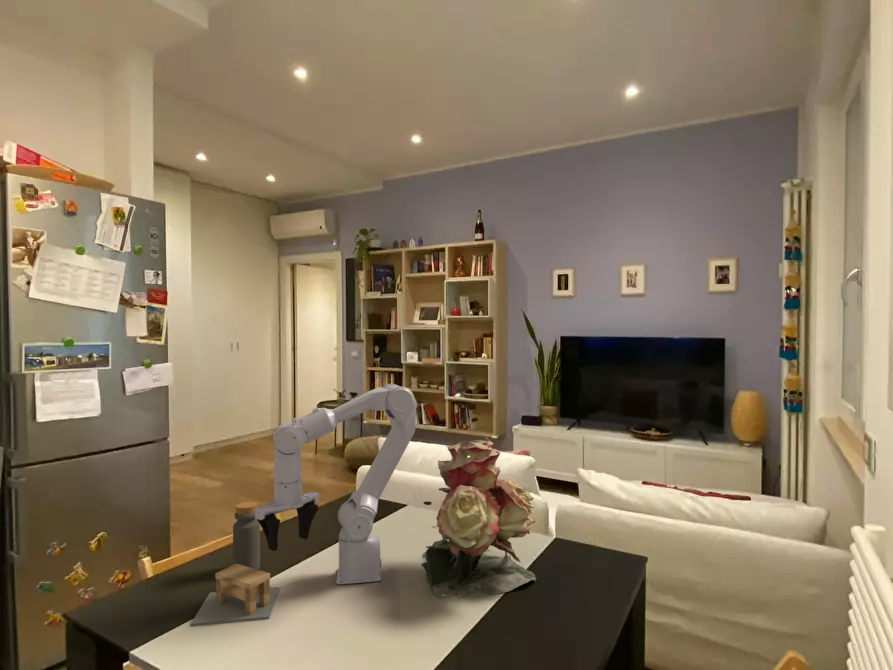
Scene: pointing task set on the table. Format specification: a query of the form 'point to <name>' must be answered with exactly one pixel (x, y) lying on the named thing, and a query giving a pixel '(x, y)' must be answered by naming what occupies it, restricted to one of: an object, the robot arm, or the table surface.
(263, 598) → the oak stool
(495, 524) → the rose bouquet
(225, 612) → the grey mat
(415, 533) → the table surface
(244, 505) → the bottle
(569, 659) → the table surface
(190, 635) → the table surface
